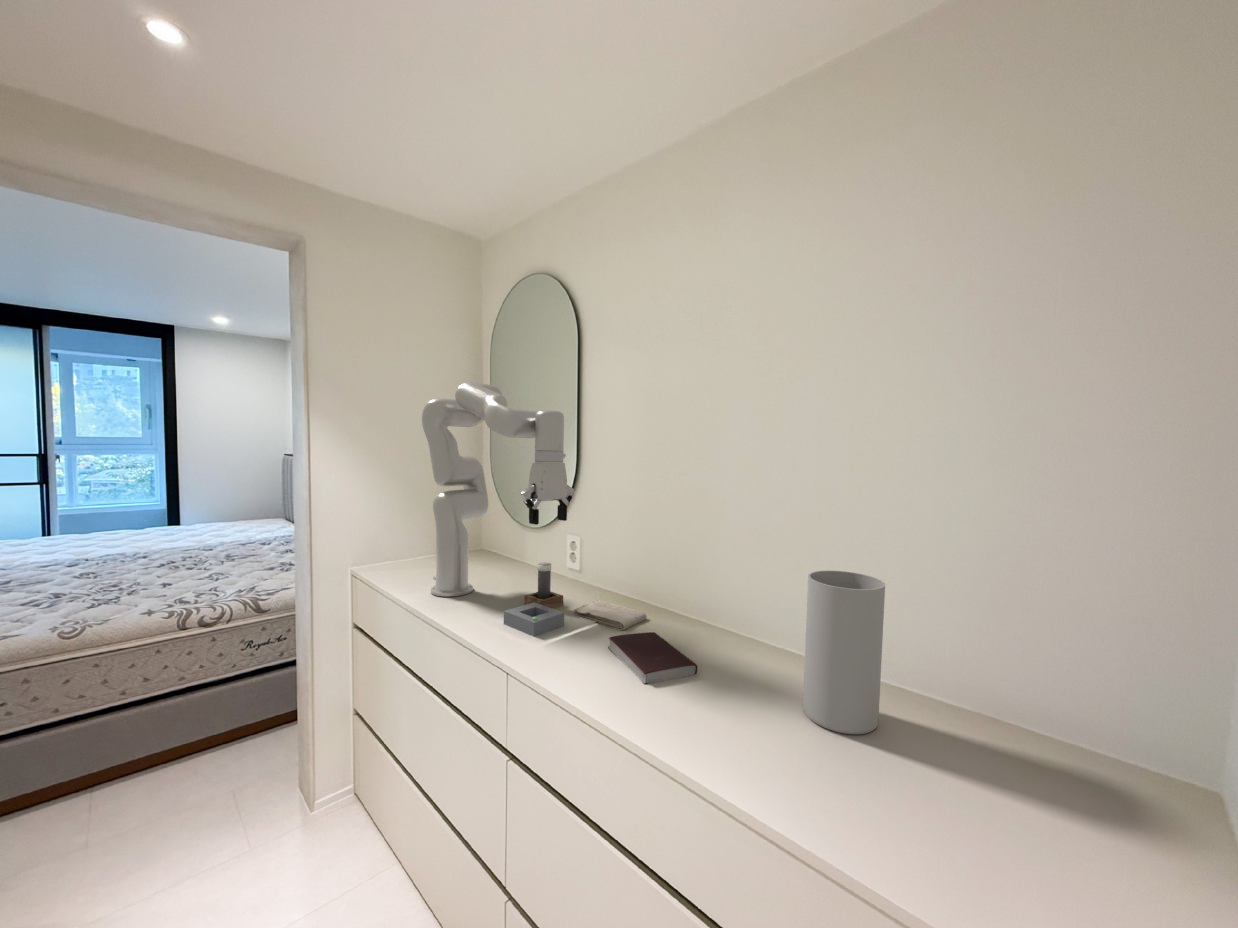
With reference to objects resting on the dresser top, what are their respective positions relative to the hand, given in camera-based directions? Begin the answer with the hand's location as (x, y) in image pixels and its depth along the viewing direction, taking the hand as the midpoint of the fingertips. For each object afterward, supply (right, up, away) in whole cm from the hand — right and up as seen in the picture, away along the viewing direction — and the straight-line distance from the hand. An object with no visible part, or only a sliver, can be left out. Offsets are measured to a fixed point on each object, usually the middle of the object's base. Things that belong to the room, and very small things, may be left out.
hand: (548, 521), depth 138 cm
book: (+26, -29, -23) cm, 45 cm away
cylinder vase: (+58, -30, -45) cm, 80 cm away
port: (-3, -27, -4) cm, 27 cm away
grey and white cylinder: (-3, -25, +11) cm, 28 cm away
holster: (-3, -26, +11) cm, 28 cm away
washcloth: (+16, -27, +4) cm, 32 cm away
